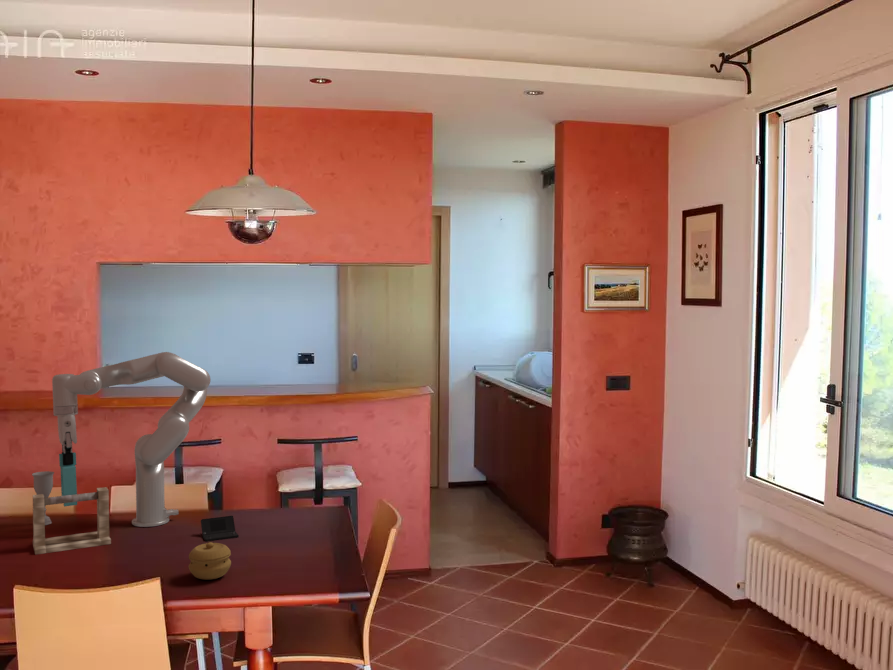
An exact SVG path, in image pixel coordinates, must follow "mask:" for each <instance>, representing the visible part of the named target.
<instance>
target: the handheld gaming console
mask: <svg viewBox="0 0 893 670" xmlns="http://www.w3.org/2000/svg"><path fill="white" fill-rule="evenodd" d="M200 525H201V533H202V538H203V540H204V541H205V542H206V543H209V542H214V541H222V540H229V539H236V538H239V536H240V535H239V534H238V533H237V531H236V526H235V519H234V516H233V515H227V516H217V517H216V516H215V517H211V518H201V519H200Z"/></svg>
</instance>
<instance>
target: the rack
mask: <svg viewBox="0 0 893 670" xmlns="http://www.w3.org/2000/svg"><path fill="white" fill-rule="evenodd" d="M109 492H110V491H109V488H108V487H106V486H105V487H96V492H95V491H94V492H87V493H86V492H85V493H77V494H75V495H66V496H62V495H58V496H49V497H48V498H44V495H43V494H38V495H37V494H32V532H33V533H32V535H33V537H32V538H33V539H32V547H33V551H34V554H35V555H36V556H37V555H43V554H49V553H55V552H56V553H57V552H62V551H70V550H75V549H76V550H78V549H85V548H92V547H100V546H104V545H111V544H112V538H111V537H110V496H109V495H110V493H109ZM94 500H96V522H97V529H96V531H90V532H84V533H75V534H69V535H61V536H60V535H59V536H53V537H46V529H45V527H46V525H45V514H46V512H45V513H44V505H46V506H50V505H52V506H53V505H61V504H64V503H71V502H77V503H79V502H87V501H94Z"/></svg>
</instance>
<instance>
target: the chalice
mask: <svg viewBox="0 0 893 670" xmlns="http://www.w3.org/2000/svg"><path fill="white" fill-rule="evenodd" d="M54 474H55V472H54V471H49V470H48V471H36V472H33V473H32V474H31V475H32V478H33V489H34V492H35V495H38V494H43V495H44V498H48V497H50V496H51V493H52V489H53V487H54ZM46 506H47V505H44V513H45V526H47V525H51V524H53V522H52V520H51V517H50V516H48V515H47V514H46V512H47V507H46Z"/></svg>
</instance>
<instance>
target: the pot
mask: <svg viewBox="0 0 893 670" xmlns="http://www.w3.org/2000/svg"><path fill="white" fill-rule="evenodd" d="M230 556H232V553H231V549H230V548H229V547H228V546H227V545H226V544H224V543H219V542H213V541H208V542H206V543H202V544H198V545H197V546H195V547H193V548H192V549H191V551H190V552H189V554H188V559H189V560H190V563H189V564H188V569H189V571H190V573H191V575H192V576H193V577H195V578H196V579H200V580H205V581H206V580H207V581H208V580H216V579H218V578H222V577H223V576H224V575H226V574H227V573H228V571H229V570H230V568H231V565H232V560H231V558H230Z"/></svg>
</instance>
